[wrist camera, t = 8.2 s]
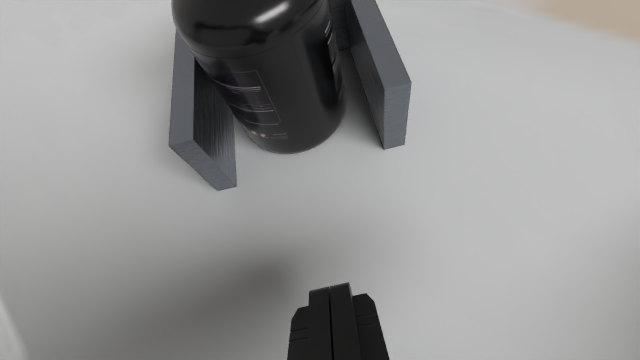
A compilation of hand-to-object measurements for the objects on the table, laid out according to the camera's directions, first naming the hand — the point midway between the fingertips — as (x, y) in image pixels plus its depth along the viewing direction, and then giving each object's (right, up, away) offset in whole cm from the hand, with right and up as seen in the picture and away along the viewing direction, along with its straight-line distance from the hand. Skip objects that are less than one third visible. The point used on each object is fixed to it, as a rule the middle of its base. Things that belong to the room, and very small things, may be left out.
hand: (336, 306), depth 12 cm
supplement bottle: (-2, +9, +9) cm, 13 cm away
